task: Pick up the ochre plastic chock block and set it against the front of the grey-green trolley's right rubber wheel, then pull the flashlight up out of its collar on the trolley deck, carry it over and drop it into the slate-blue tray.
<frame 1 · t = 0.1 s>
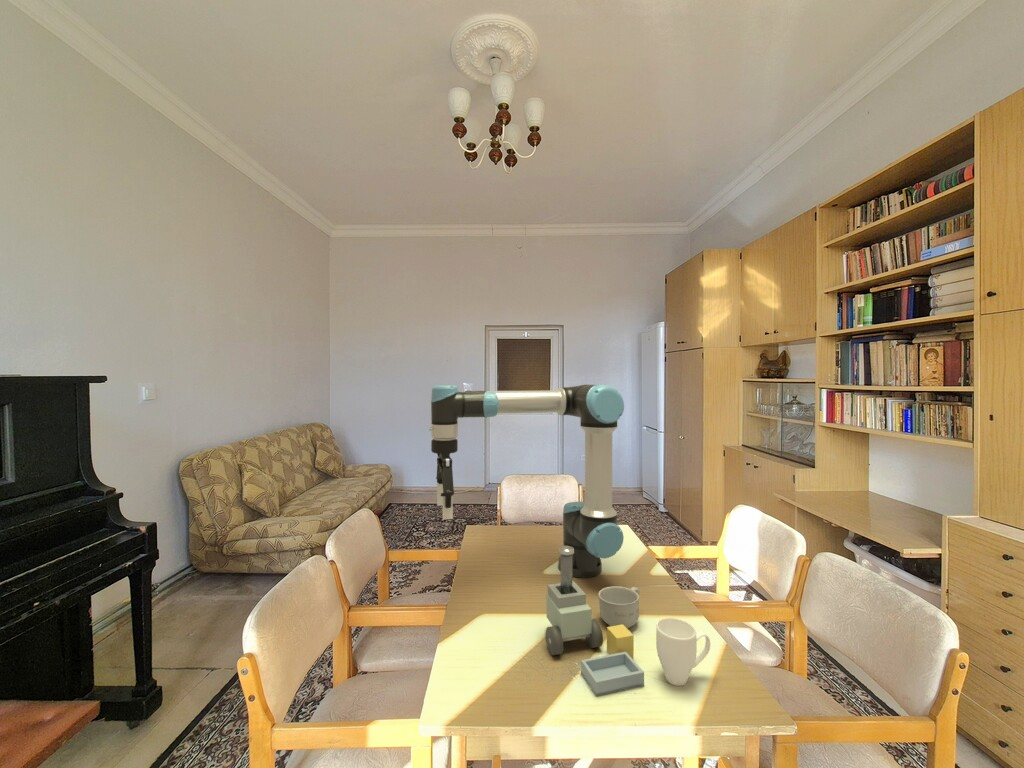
hand: (444, 511, 125), 28 cm above the table, fingers open, 13 cm apart
chock: (619, 656, 104), on the table
mug: (683, 679, 96), on the table
tray: (611, 679, 95), on the table
teacup: (622, 622, 119), on the table
flashlight: (566, 599, 111), point 10 cm above the table, touching trolley
trolley: (568, 640, 110), on the table
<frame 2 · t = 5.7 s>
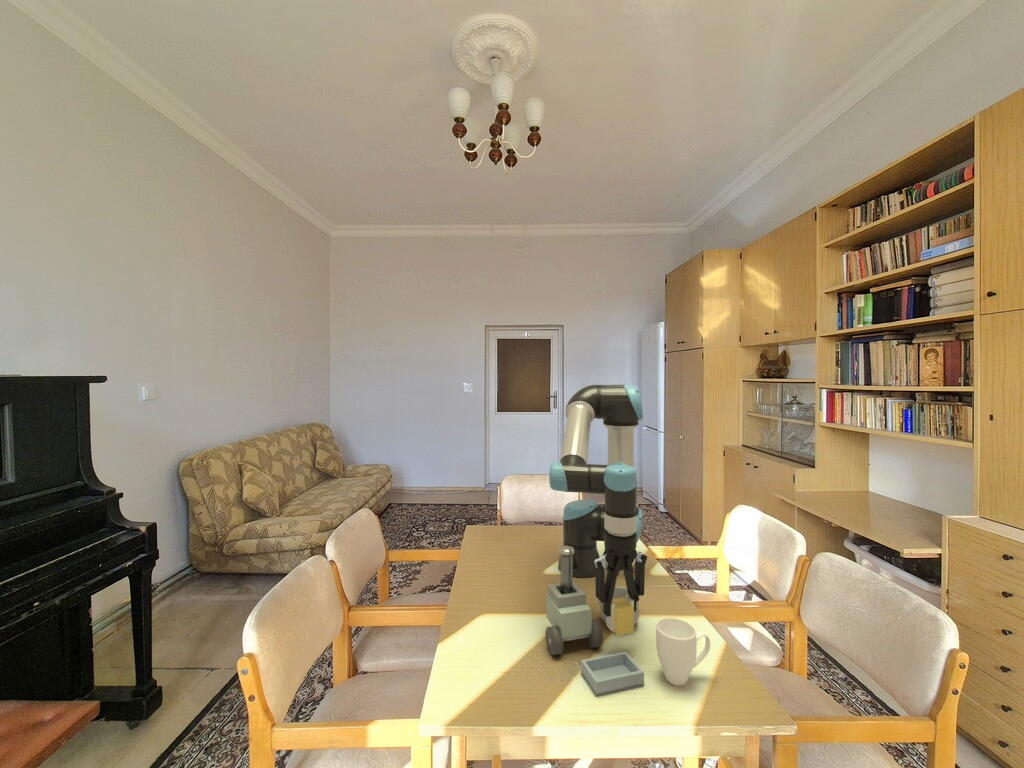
hand: (619, 626, 104), 7 cm above the table, fingers closed on chock, 4 cm apart
chock: (620, 628, 104), point 6 cm above the table, touching gripper
everything else where it was.
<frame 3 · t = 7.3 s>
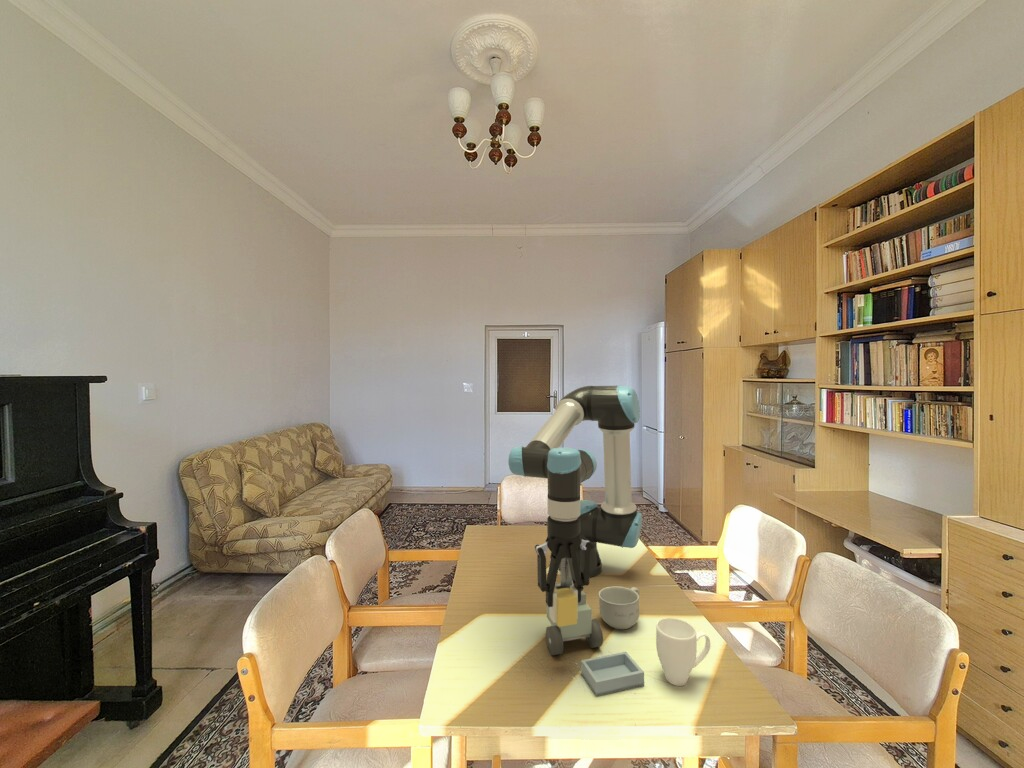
hand: (563, 617, 99), 12 cm above the table, fingers closed on chock, 4 cm apart
chock: (563, 619, 99), point 11 cm above the table, touching gripper
everything else where it was.
when the fingers open (0 cm above the table, at t = 9.1 s): chock stays where it is, on the table.
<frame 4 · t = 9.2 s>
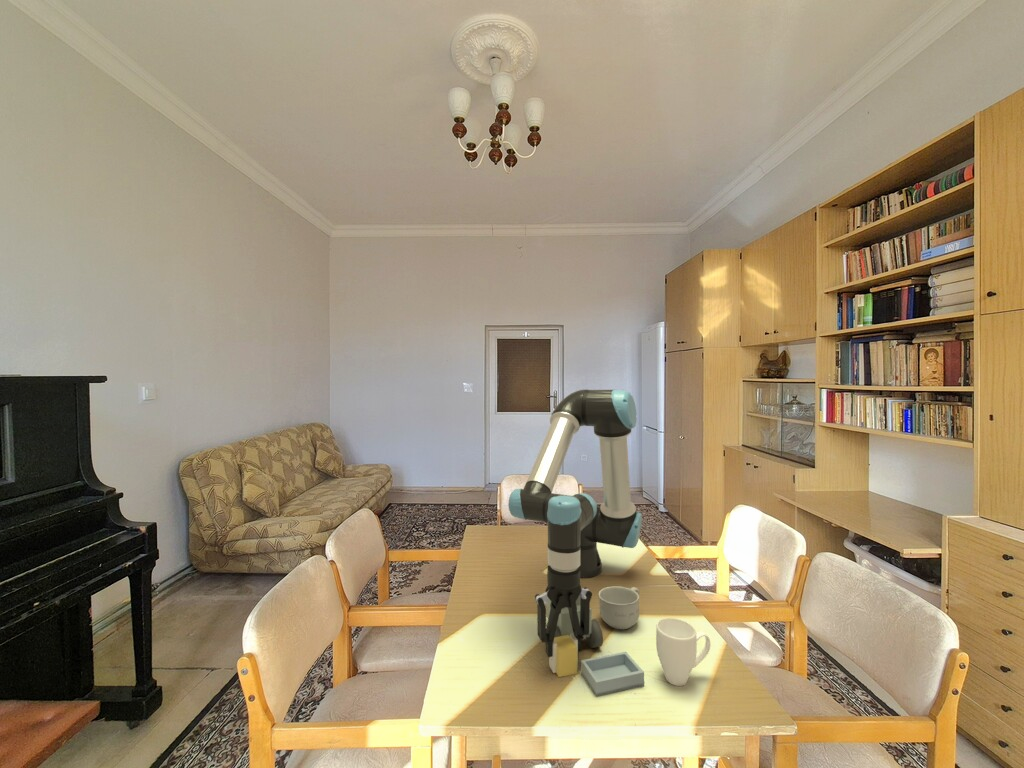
hand: (563, 666, 99), 0 cm above the table, fingers open, 4 cm apart
chock: (563, 668, 99), on the table, touching gripper
everything else where it was.
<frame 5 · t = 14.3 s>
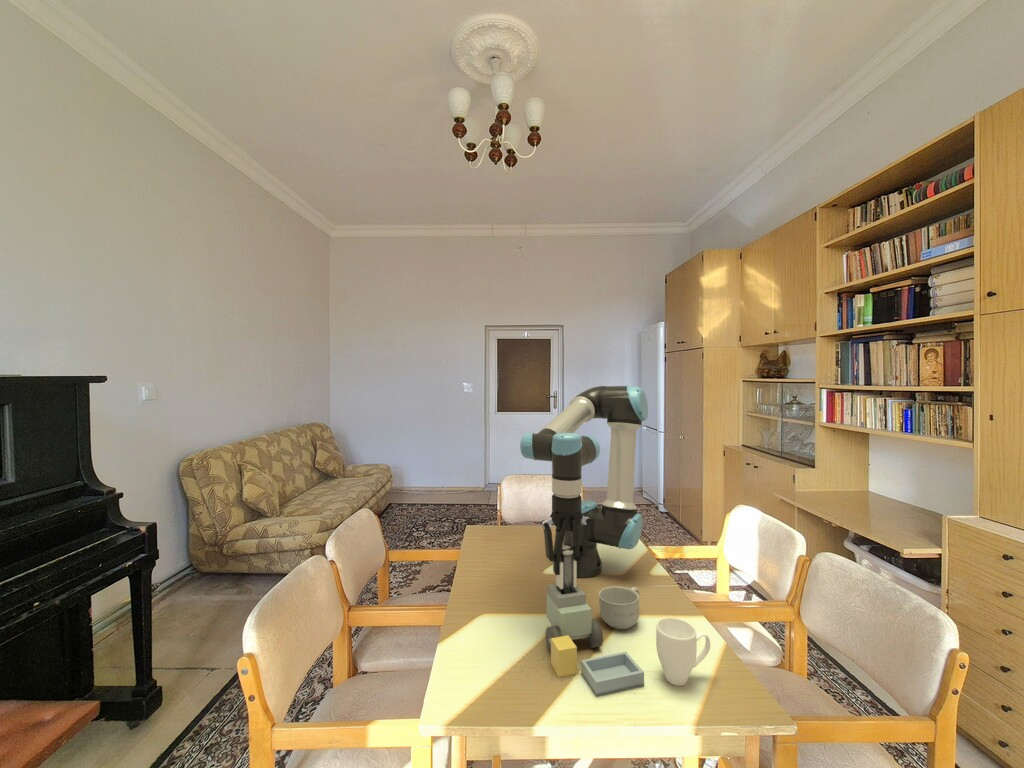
hand: (566, 585, 111), 14 cm above the table, fingers closed on flashlight, 3 cm apart
chock: (563, 668, 99), on the table
flashlight: (566, 599, 111), point 10 cm above the table, touching gripper, trolley
everything else where it was.
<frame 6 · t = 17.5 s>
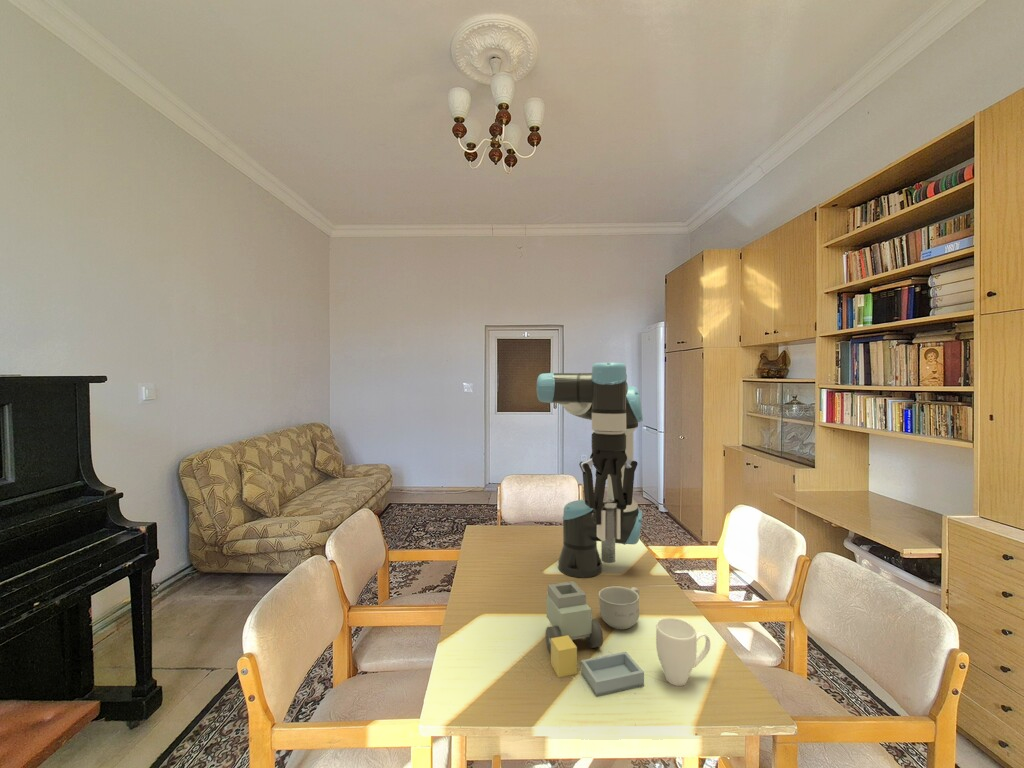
hand: (608, 537, 96), 31 cm above the table, fingers closed on flashlight, 3 cm apart
flashlight: (608, 560, 96), point 26 cm above the table, touching gripper
everything else where it was.
when the fingers open (7 cm above the table, at t = 20.7 s): flashlight stays where it is, resting on tray.
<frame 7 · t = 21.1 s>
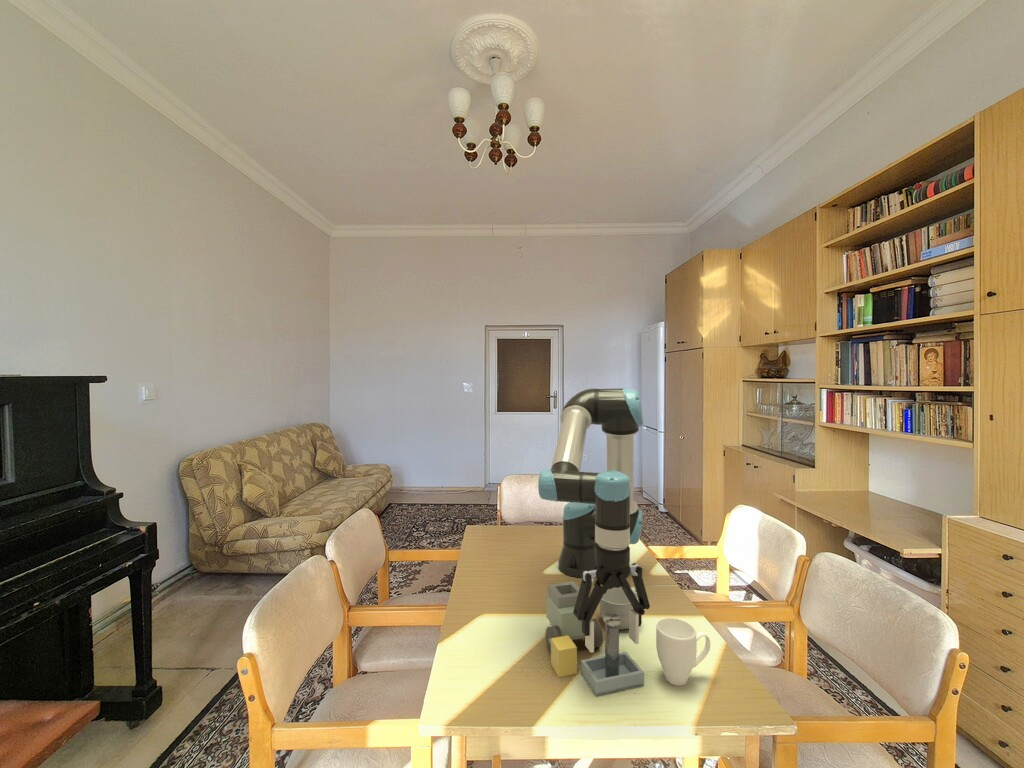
hand: (612, 644, 95), 8 cm above the table, fingers open, 10 cm apart
flashlight: (612, 677, 95), point 1 cm above the table, touching tray
everything else where it was.
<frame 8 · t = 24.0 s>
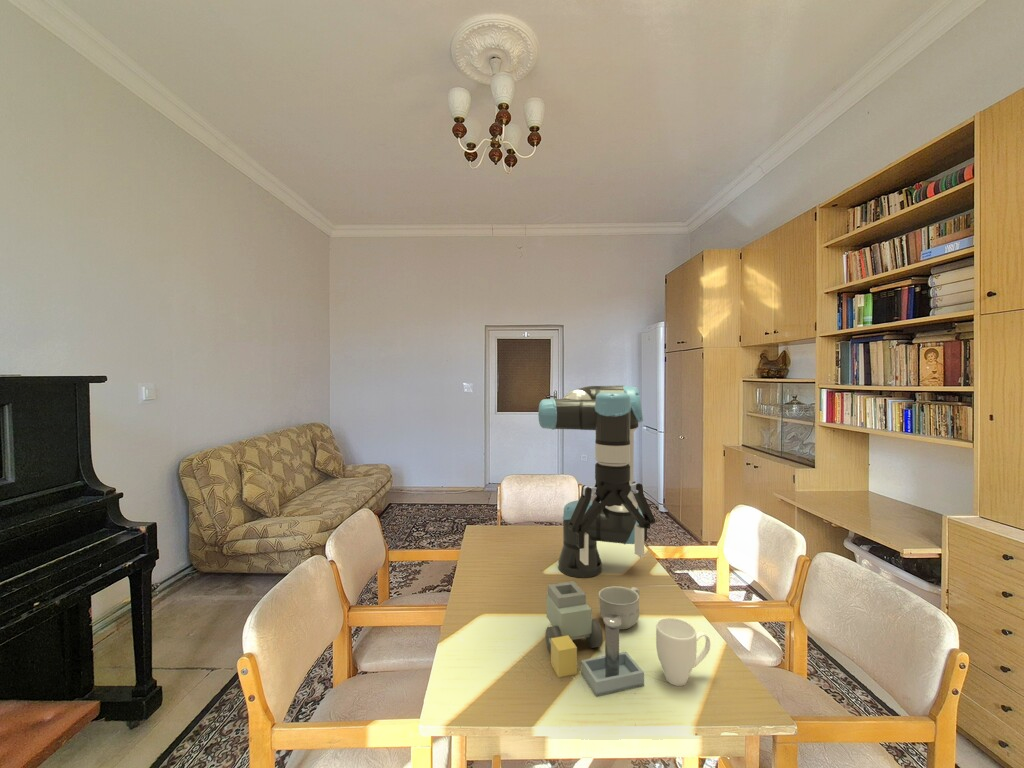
hand: (612, 559, 95), 27 cm above the table, fingers open, 13 cm apart
nothing on the table moved.
at the end: chock 0.3 cm from the target spot, on the table; flashlight inside the target area on the tray (0.1 cm from its centre), point 0.6 cm above the tray's base; the gripper is holding nothing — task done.
